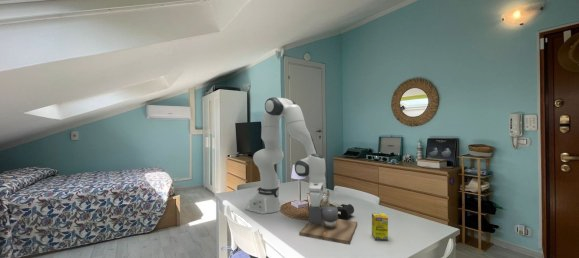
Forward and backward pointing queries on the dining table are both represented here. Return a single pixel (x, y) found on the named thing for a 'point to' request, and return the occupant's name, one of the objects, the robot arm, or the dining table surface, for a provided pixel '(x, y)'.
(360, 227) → the dining table surface
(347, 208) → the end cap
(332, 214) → the coupling
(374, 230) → the supplement box
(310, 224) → the mount plate
